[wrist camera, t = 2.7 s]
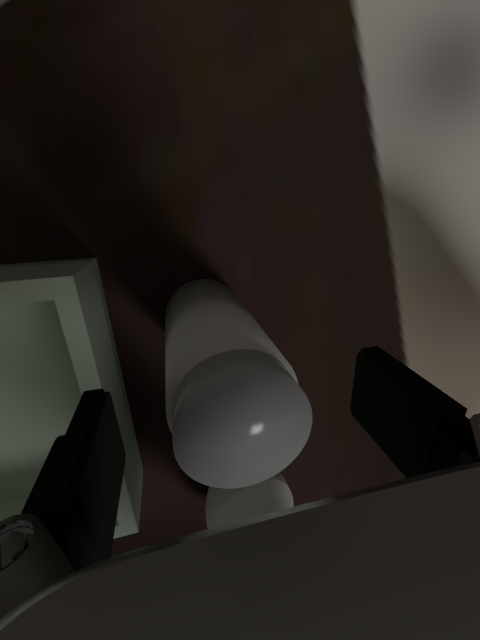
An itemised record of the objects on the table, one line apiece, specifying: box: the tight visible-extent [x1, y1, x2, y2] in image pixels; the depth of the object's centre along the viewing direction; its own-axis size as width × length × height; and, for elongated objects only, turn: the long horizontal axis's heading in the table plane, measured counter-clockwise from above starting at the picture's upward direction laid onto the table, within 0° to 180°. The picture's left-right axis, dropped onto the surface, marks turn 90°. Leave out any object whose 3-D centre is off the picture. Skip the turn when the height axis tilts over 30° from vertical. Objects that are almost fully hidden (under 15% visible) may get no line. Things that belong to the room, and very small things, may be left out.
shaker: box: [165, 279, 312, 489], centre depth 15 cm, size 5×5×12 cm
